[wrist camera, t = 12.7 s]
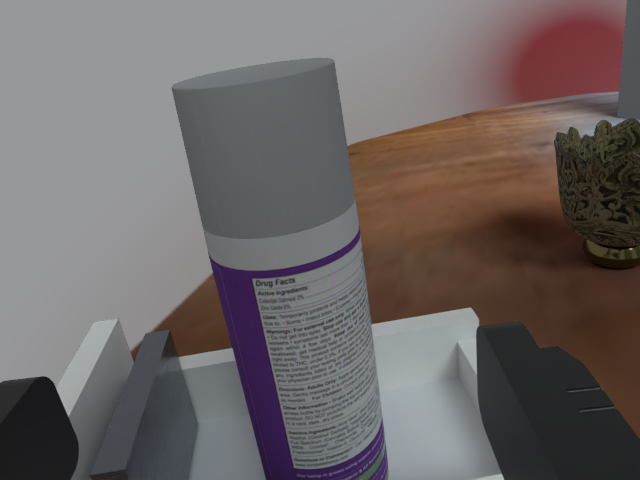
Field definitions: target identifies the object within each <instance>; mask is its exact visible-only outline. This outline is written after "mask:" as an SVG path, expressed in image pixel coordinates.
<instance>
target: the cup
mask: <svg viewBox="0 0 640 480" xmlns="http://www.w3.org/2000/svg"><path fill="white" fill-rule="evenodd" d="M596 128H597V129H596ZM596 128H595V131H594V133H595V135H594V136H591V137H590V136H589V135H587V134H585V135H584V137H583V138H580V136H579V133H578V131H577V129H575V128H573V127H570V129H569V130H568V133H567V134H565V133H559V132H557V135H556V140H554V144H555V145H556V146H555V150H556V162H557V174H558V185H559V195H560V202H561V207H562V211H563V214H564V217H565V219H566V221H567V223H568V224H569V226H570V227H571V228H572V229H573V230H574V231H575V232H576V233H577V234H578V235H580V236H581V237H583V238H585V240H584V242H583V250H584V252H585V254H586V256H587V257H588V259H590V260H591V261H592V262H594V263H596V264H599V265H602V266H606V267H611V268H629V267H634V266H637V265H639V264H640V122H639V121H638V120H636V119H634V118H630V119H627V120H625V121H623V122H621V123H619V124H617V125H616V126H614V127H612V125H611V124H610V123H609V122H608V121H606V120H601V121H600V122H599V123H598V124H597V126H596ZM594 133H593V134H594Z"/></svg>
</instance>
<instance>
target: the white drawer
mask: <svg viewBox="0 0 640 480" xmlns="http://www.w3.org/2000/svg"><path fill="white" fill-rule="evenodd" d="M371 326H372V334H373V343H374V351H375V359H376V367H377V376H378V384H379V392H380V401H381V409H382V417H383V425H384V434H385V442H386V450H387V458H388V471H389V475H388V480H504V478H503V475H502V473H501V470H500V468H499V465H498V463H497V460H496V457H495V455H494V452H493V450H492V447H491V445H490V442H489V439H488V437H487V434H486V432H485V429H484V426H483V422H482V419H481V414H480V409H479V403H478V391H477V353H476V331H477V328H478V326H479V318H478V317H477V316H476V314H475V313H474V311H473V310H472V308H465V309H459V310H453V311H447V312H441V313H435V314H429V315H423V316H418V317H412V318H406V319H400V320H394V321H388V322H382V323H376V324H371ZM178 359H179V362H180V365H181V368H182V372H183V375H184V378H185V382H186V385H187V388H188V391H189V395H190V398H191V401H192V405H193V408H194V411H195V415H196V418H197V421H198V428H197V434H196V439H195V445H194V450H193V456H192V462H191V467H190V473H189V479H188V480H266V478H265V474H264V470H263V466H262V462H261V458H260V454H259V450H258V446H257V443H256V439H255V435H254V431H253V427H252V423H251V419H250V415H249V411H248V407H247V403H246V399H245V395H244V392H243V388H242V384H241V380H240V376H239V372H238V368H237V364H236V360H235V356H234V352H233V348H229V349H224V350H218V351H212V352H206V353H200V354H194V355H188V356H182V357H178ZM133 364H134V361H133V359H132V356H131V353H130V350H129V347H128V344H127V341H126V338H125V336H124V333H123V330H122V327H121V324H120V321H119V318H117V319H111V320H105V321H99V322H94V323H93V325H92V327H91V329H90V330H89V332H88V334H87V336H86V337H85V339H84V341H83V343H82V344H81V346H80V348H79V349H78V351H77V353H76V355H75V357H74V358H73V360H72V362H71V363H70V365H69V367H68V368H67V370H66V372H65V374H64V375H63V377H62V379H61V381H60V382H59V384H58V386H57V387H56V389H57V392H58V394H59V396H60V399H61V401H62V403H63V406H64V408H65V410H66V413H67V415H68V417H69V420H70V422H71V424H72V427H73V429H74V431H75V434H76V436H77V439H78V444H79V457H78V463H77V467H76V470H75V472H74V474H73V476H72V478H71V480H91V478H90V476H89V475H90V473H91V470H92V468H93V465H94V463H95V460H96V458H97V455H98V453H99V450H100V447H101V445H102V442H103V440H104V437H105V435H106V432H107V430H108V427H109V425H110V422H111V420H112V417H113V415H114V412H115V409H116V407H117V404H118V402H119V399H120V397H121V394H122V392H123V389H124V387H125V384H126V382H127V379H128V377H129V374H130V371H131V369H132V366H133Z"/></svg>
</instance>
